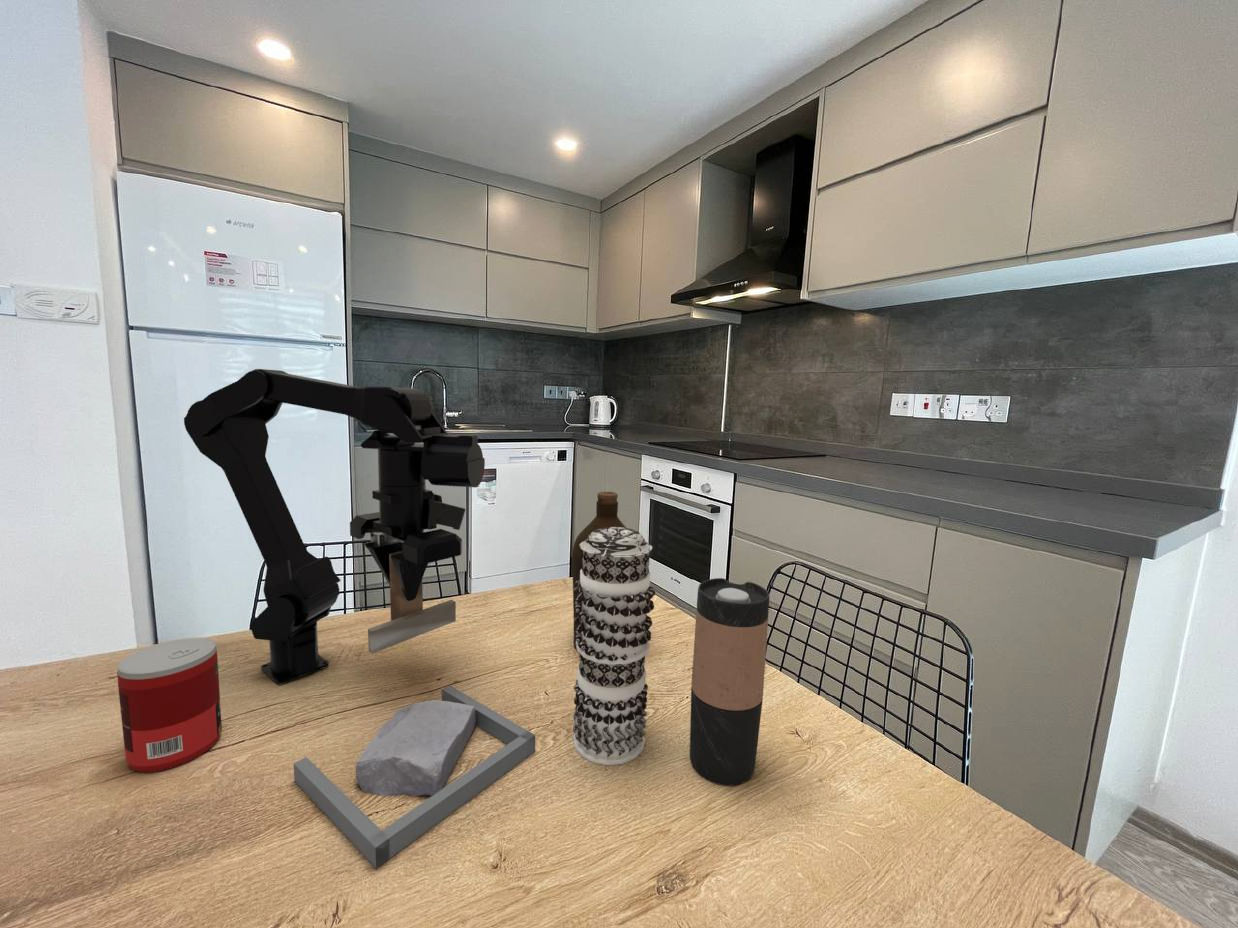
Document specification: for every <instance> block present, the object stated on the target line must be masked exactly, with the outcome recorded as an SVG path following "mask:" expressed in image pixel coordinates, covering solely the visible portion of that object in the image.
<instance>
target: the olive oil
mask: <svg viewBox="0 0 1238 928" xmlns="http://www.w3.org/2000/svg"><path fill="white" fill-rule="evenodd" d="M596 496H597V501H596V502H595V503H596V506H595V507H596V515H595V517H594V518H593V519H592V521H590V522H589V524H587V526H586V527H585V528H583V529H582V530H581V532H580V533H579V534H577V536H576V538H575V541H574V542H573V547H572V550H571V568H572V596H573V597H572V600H573V602H572V605H573V606H572V609H573V611H572V612H573V619H574V618H575V617H576V611H575V605H576V604H575V600H576V599H577V597H576V594H575V593H574V587H575V582H576V581H577V580H579V578H580V570H581V569H582V565H583V562H582V555H583V550H582V549H581V547H580V545H579V544H580V543H581V542H583V541H584V540H587V538H588V536H589V535H590V534H591V533H592V532H593V531H594V530H597V529H600V528H606V527H622V528H627V527H626V526H625V525H624V523H623V522H622V521H621V519H620V518H619V517H618V511H619V502H618V501H617V500H618V496H619V495H618V493H617V492H613V491H601V492H600V491H599V492H598V493H597V495H596ZM580 592H582V588H581V590H580ZM581 606H582V604H581ZM580 622H582V619H580ZM576 626H577V624H576V623H575V622H574V621H573V646H574V648H575V650H577V647H576V640H575V636H576V635H577V634H576V629H577V627H576Z"/></svg>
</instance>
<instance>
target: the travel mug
mask: <svg viewBox="0 0 1238 928" xmlns="http://www.w3.org/2000/svg"><path fill="white" fill-rule="evenodd" d="M697 588H698V589H697V595H696V596H697V597H696V600H697V601H696V610H695V611H696V612H695V613H696V614H695V629H694V643H693V653H692V654H693V655H692V656H693V657H692V670H691V671H692V673H691V687H690V688H691V689H690V690H691V692H690V723H689V724H690V725H689V727H690V729H689V760H690V764H691V767H692V768H693V770H695V772H696V773H697V774H698V775H699V776H701V777H702V778H704V779H705V780H707V781H709V782H711V783H713V784H717V785H721V786H738V785H741V784H744V783H746V782H747V781H750V779H751V778H752V777H753V775H754V773H755V768H756V759H757V753H758V746H759V745H758V743H759V734H760V726H761V718H762V709H763V700H764V699H763V698H764V687H765V686H764V685H765V674H766V673H765V671H766V670H765V669H766V655H767V641H768V625H769V611H770V610H769V609H770V594H769V592H768V590H767V589H766V588H764V587H763V586H761V585H759V584H757V583H755V582H752V581H751V582H750V581H746V582H745V583H742V584H741V583H739V584H738V583H733V582H729V581H728V580H727V579H726V578H722V577H721V578H720V577H718V578H717V577H716V578H715V577H714V578H710V579H706V580H704V581H702V582H701V583H699V585H698V587H697Z"/></svg>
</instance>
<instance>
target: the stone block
mask: <svg viewBox="0 0 1238 928" xmlns="http://www.w3.org/2000/svg"><path fill="white" fill-rule="evenodd" d="M475 722H476V717H475V707H474V706H469V705H466V704H461V703H453V702H449V701H442V700H434V699H433V700H432V699H430V700H424V701H421V702H413V703H412V704H410V705H406V706H403V707H402V708H400V709H398V710H396V711H395V712H394V714H393V716H392V717H391V718H390V719H389V720H387V721H386V722H385V723H384V724H383V725H382V726H381V727H380V729H378V731H377V732H376V734H375V735H374V737H373V739H372V740H371V741H370V742H369V743H368V744H367V746H366V747H365V748H364V751H363V752H362V753H361V754H360V756H359V758H358V760H357V761H356V764H355V778H356V781H357V783H358V786H359V787H360V791H362V792H364V793H367V794H368V793H369V794H371V795H375V796H380V797H388V796H395V797H396V796H397V797H398V796H401V795H405V796H411V797H413V796H414V797H420V796H427V797H431V796H433V795H434V794H436V793H437V792H439V791H440V790H442V789H443V788H445V787H446V786H445V785H446V784H447V782H448V779H449V778H450V776H451V773H452V772H453V770H454V768H455V766H456V764H457V762H458V760H459V758H460V756H461V755H462V753H463V751H464V749H465V747H466V745H467V743H468V741H469V739H470V737H471V736H472V734H473V731H474V729H475V726H476V725H475Z"/></svg>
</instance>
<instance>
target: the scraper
mask: <svg viewBox="0 0 1238 928" xmlns="http://www.w3.org/2000/svg"><path fill="white" fill-rule="evenodd" d="M399 553H403V551H399V552H395V553H391V554H389V566H390V586H389V594H390V598H389V599H390V600H389V601H390V602H389V604H390V620H389V621H386V622H384V623H381V624H378V625H375V626H372V627H369V628H367V640H368V642H367V643H368V644H367V645H368V652H370V654H375V653H377V652H380V651H383V650H385V649H388V648H391V647H393V646H395V645H398V644H400V643H404V642H406V641H408V640H411V639H413V638H416V637H419V636H421V635H425V634H426V633H429V632H431V631H435V630H436V629H440V628H443V627H445V626H447V625H451V624H452V623H455V622H456V621H457V619H456V618H457V617H456V616H457V614H456V613H457V610H456V607H457V605H456V604H457V602H456V601H455V600H453V599H450V600H447V601H443V602H441V603H438V604H435V605H432V606H429V607H426V608H424V606H423V605H424V601H423V600H424V599H423V598H424V597H423V595H424V594H423V589H424V588H423V580H422V581H421V584H420V587H419V590H418V593H417V596H416V598H415V599H414V600H411V601H408V600H406V597H405V595H404V593H403V590H402V587H401V585H400V582H399V579H398V576H397V573H396V570H395V568H394V565H393V562H392V559H391V555H395V554H399Z"/></svg>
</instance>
